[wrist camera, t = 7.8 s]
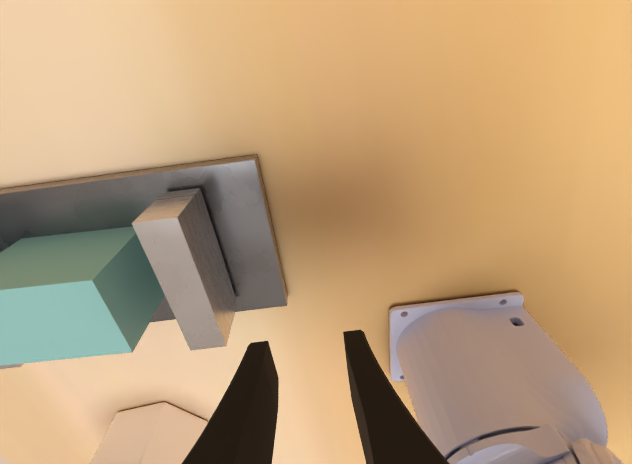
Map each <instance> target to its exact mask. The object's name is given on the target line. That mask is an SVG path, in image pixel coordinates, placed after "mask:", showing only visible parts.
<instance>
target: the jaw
mask: <svg viewBox="0 0 632 464" xmlns="http://www.w3.org/2000/svg"><path fill="white" fill-rule="evenodd" d="M132 225H133V228H134V230H135V232H136V234H137V236H138V238H139V240H140V243H141V245H142V247H143V249H144V251H145V253H146V255H147V258H148V260H149V262H150V264H151V266H152V268H153V271H154V273H155V275H156V277H157V279H158V281H159V283H160V286H161V288H162V290H163V292H164V294H165V296H166V298H167V301H168V303H169V305H170V307H171V309H172V311H173V314H174V316H175V318H176V320H177V322H178V324H179V326H180V329H181V331H182V333H183V335H184V337H185V339H186V341H187V344H188V346H189V348H190V350H198V349H206V348H215V347H223V346H226V345H227V341H228V337H229V333H230V330H231V326H232V322H233V318H234V314H235V310H236V306H237V300H236V297H235V294H234V291H233V287H232V284H231V281H230V278H229V275H228V272H227V269H226V266H225V263H224V260H223V257H222V254H221V250H220V247H219V244H218V241H217V238H216V235H215V232H214V229H213V226H212V223H211V220H210V217H209V213H208V210H207V207H206V204H205V201H204V198H203V195H202V192H201V189H200V188H194V189H187V190H179V191H172V192H164V193H162V194H161V195H160V196H159V197H158V198H157V199H156V200H155V201H154V202H153V203H152V204H151V205H150V206H149V207H148V208H147V209H146V210H145V211H144V212H143V213H142V214H141V215H140V216H139V217H138V218H137V219H136V220H135V221H134V222H133V223H132Z"/></svg>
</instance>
